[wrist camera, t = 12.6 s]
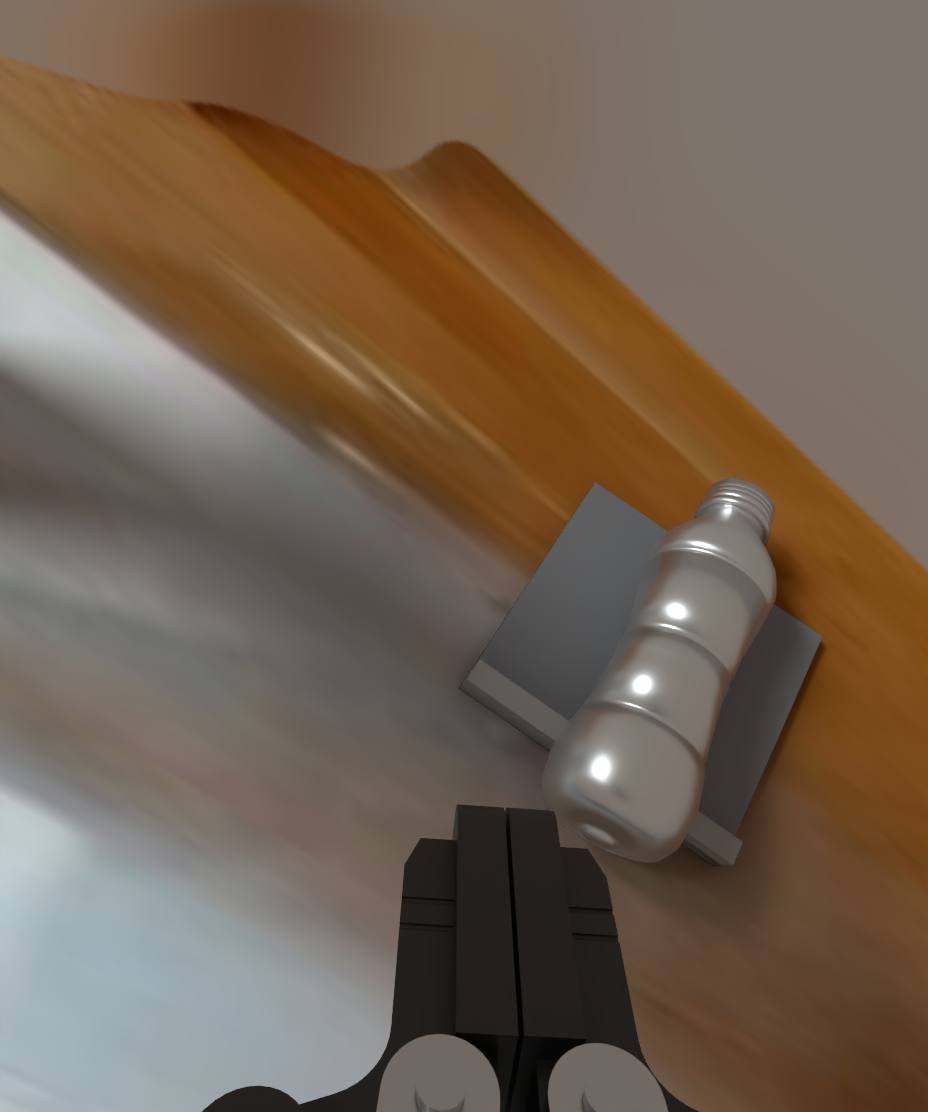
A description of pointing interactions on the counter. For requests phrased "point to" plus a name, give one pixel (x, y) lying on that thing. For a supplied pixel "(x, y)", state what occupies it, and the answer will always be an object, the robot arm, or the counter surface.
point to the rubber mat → (591, 639)
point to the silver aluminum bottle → (667, 681)
